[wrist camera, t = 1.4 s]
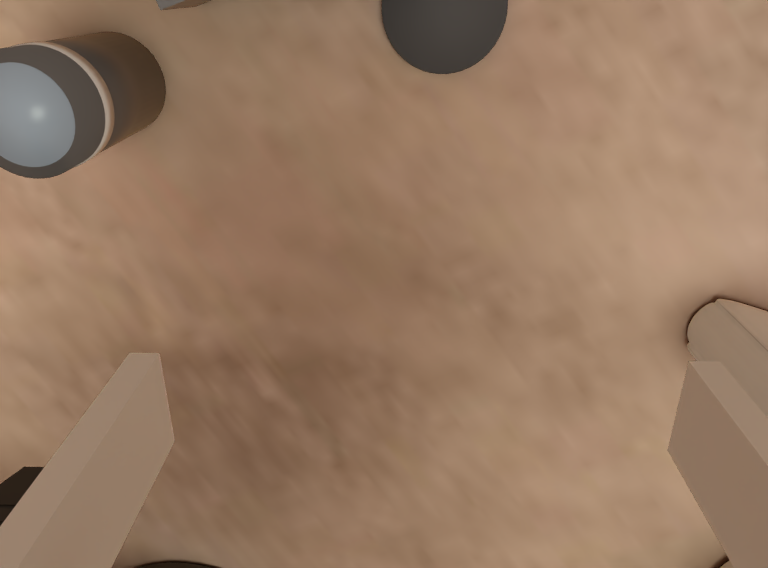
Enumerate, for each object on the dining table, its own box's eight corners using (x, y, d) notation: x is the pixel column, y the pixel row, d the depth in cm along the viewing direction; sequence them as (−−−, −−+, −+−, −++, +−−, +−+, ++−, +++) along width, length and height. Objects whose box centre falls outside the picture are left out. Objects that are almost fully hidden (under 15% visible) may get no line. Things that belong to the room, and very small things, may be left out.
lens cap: (404, 87, 33) (404, 90, 32) (365, -35, 31) (364, -36, 30) (517, 48, 32) (520, 50, 31) (486, -82, 30) (489, -84, 29)
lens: (98, 145, 35) (3, 196, 26) (48, 50, 33) (-72, 73, 24) (183, 114, 34) (112, 157, 25) (137, 15, 32) (43, 27, 23)
